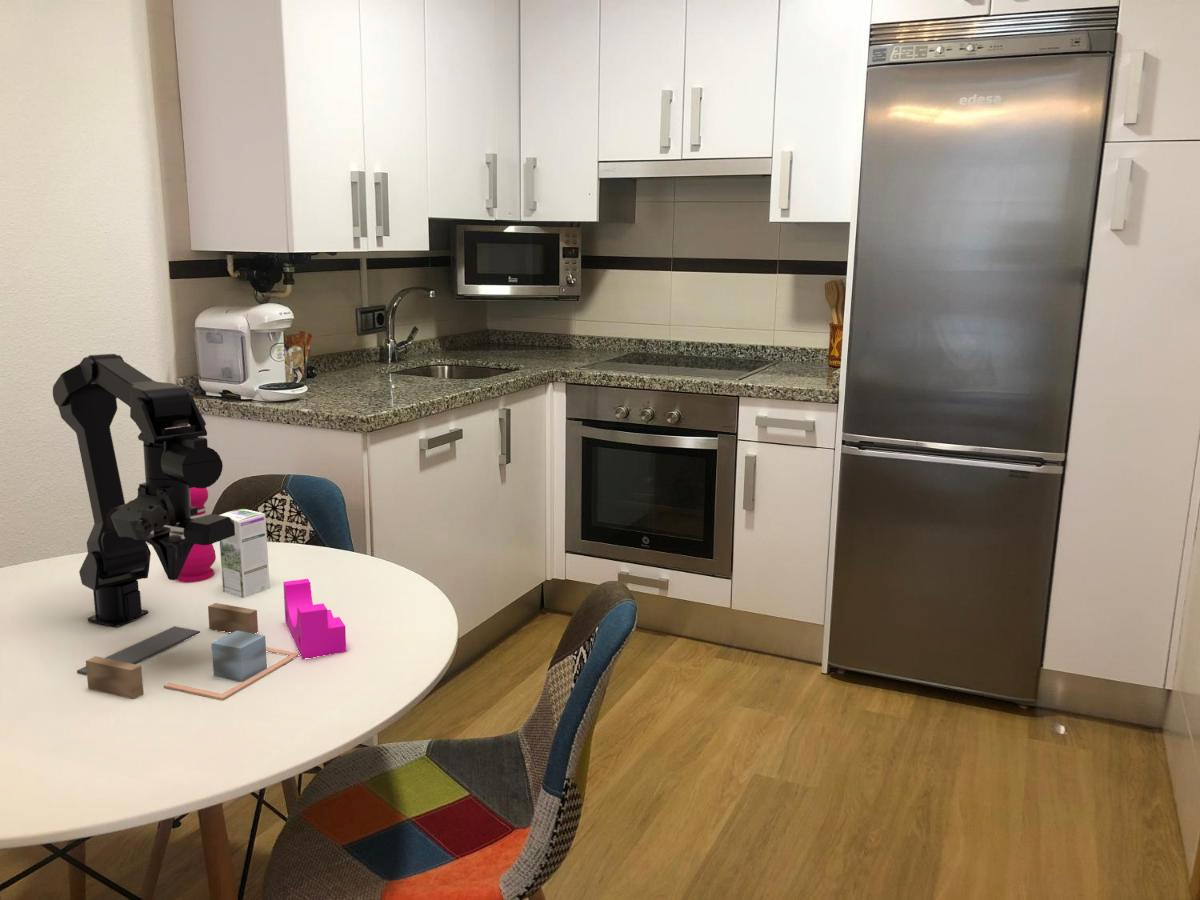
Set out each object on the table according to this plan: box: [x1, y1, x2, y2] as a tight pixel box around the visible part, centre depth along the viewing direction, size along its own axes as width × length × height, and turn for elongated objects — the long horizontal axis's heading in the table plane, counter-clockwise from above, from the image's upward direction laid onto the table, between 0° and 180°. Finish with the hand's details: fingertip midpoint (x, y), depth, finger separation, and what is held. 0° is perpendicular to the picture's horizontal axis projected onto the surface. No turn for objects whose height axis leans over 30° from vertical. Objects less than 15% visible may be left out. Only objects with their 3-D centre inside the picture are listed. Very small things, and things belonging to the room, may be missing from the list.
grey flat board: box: [76, 626, 201, 676], centre depth 144 cm, size 5×18×1 cm, turn 159°
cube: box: [211, 631, 268, 683], centre depth 137 cm, size 5×5×5 cm
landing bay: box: [163, 646, 301, 701], centre depth 138 cm, size 10×16×1 cm, turn 159°
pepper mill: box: [176, 487, 217, 584], centre depth 173 cm, size 7×7×20 cm
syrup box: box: [219, 508, 271, 599], centre depth 167 cm, size 6×6×14 cm
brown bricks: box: [85, 602, 259, 700], centre depth 141 cm, size 8×24×4 cm, turn 159°
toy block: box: [283, 578, 347, 660], centre depth 149 cm, size 15×6×8 cm, turn 27°
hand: (173, 579), depth 142 cm, fingers closed
